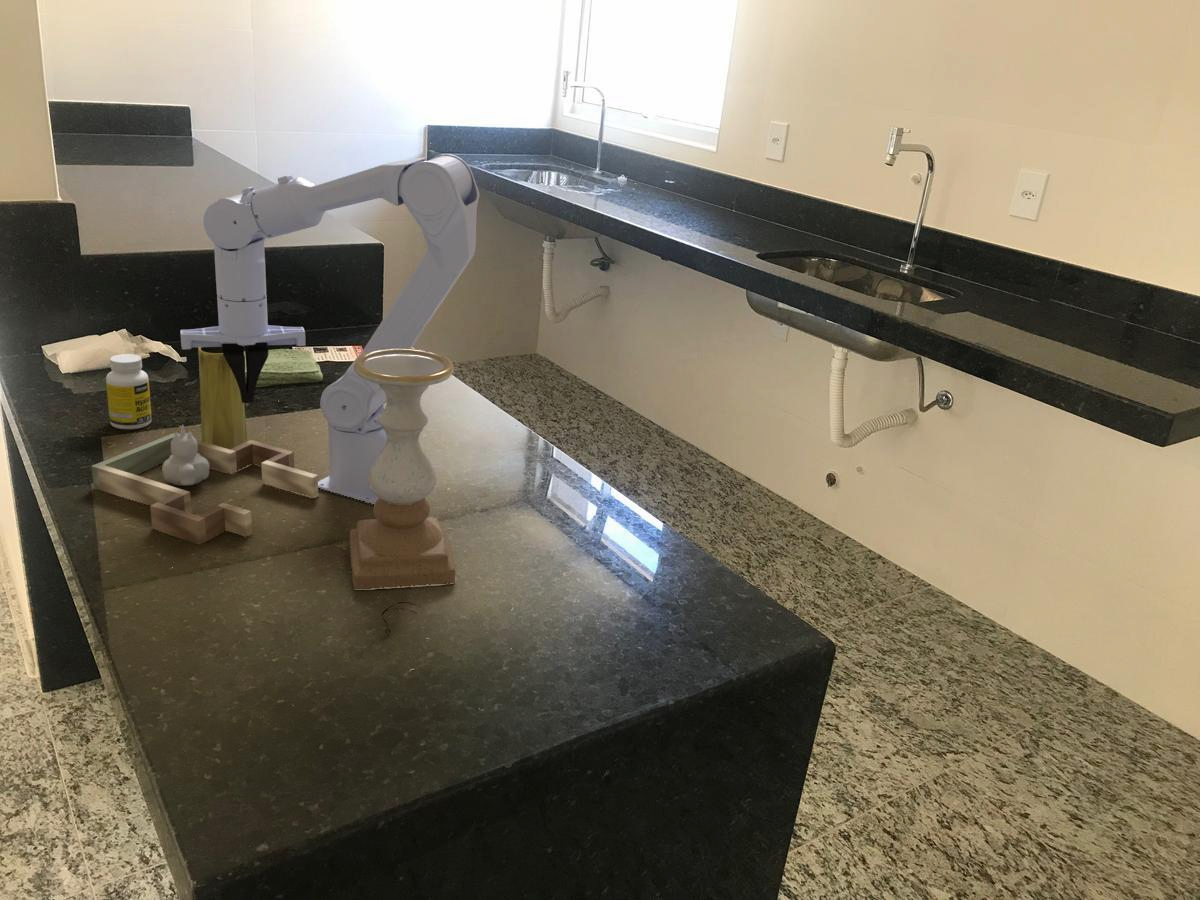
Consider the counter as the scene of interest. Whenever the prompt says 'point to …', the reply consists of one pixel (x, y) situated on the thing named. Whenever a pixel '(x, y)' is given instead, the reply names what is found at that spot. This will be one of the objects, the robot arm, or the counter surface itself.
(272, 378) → the washcloth
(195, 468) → the white animal figurine
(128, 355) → the supplement bottle
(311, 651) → the counter surface
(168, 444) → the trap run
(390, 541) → the candle holder
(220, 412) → the vase
